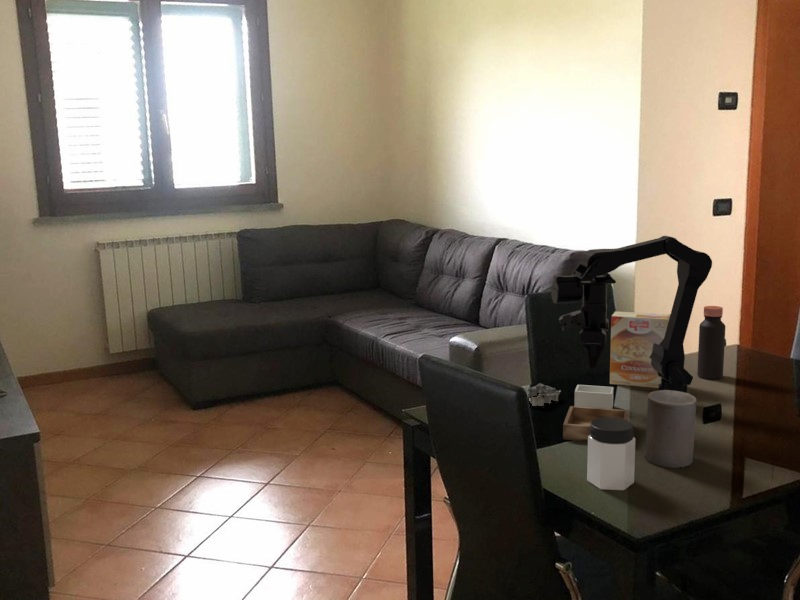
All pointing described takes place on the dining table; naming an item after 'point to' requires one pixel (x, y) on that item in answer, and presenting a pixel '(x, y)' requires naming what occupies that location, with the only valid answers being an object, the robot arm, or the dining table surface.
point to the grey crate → (594, 396)
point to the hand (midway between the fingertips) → (593, 363)
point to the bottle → (711, 344)
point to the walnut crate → (586, 420)
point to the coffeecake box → (635, 347)
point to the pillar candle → (670, 428)
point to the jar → (611, 454)
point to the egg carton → (542, 394)
